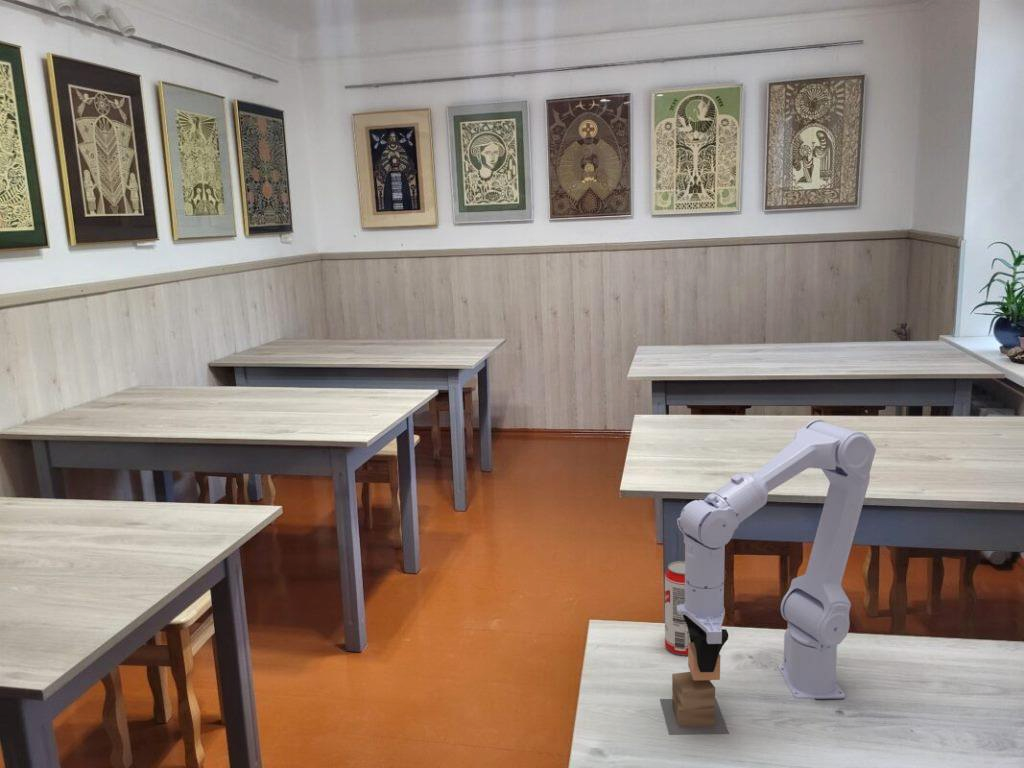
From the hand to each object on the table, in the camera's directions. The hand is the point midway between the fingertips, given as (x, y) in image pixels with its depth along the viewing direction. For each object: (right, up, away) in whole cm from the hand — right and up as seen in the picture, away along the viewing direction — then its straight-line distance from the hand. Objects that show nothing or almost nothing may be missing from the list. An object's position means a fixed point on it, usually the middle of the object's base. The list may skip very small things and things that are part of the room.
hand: (703, 662), depth 119 cm
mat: (-1, -9, +2) cm, 10 cm away
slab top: (-1, -6, +1) cm, 6 cm away
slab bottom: (-1, -9, +2) cm, 9 cm away
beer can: (+2, -6, +22) cm, 22 cm away
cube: (0, -2, 0) cm, 2 cm away
